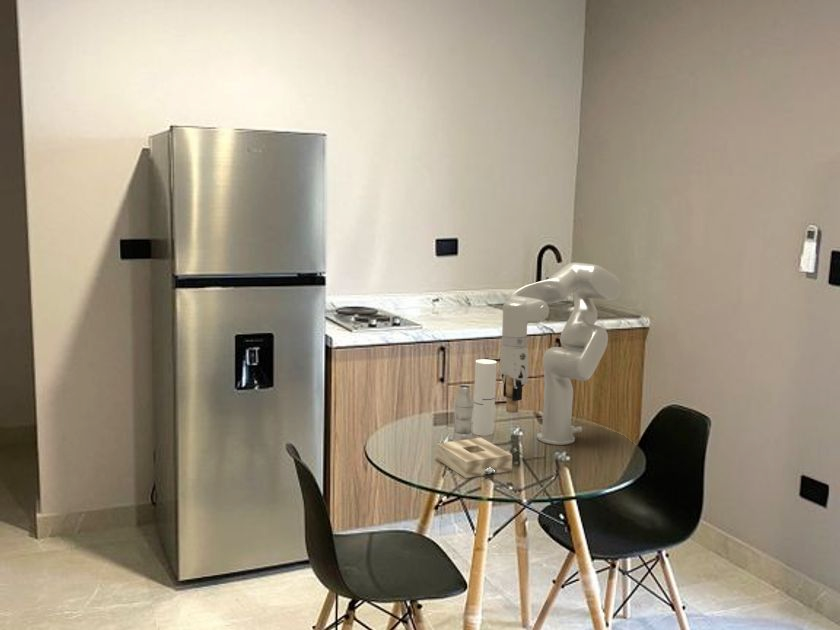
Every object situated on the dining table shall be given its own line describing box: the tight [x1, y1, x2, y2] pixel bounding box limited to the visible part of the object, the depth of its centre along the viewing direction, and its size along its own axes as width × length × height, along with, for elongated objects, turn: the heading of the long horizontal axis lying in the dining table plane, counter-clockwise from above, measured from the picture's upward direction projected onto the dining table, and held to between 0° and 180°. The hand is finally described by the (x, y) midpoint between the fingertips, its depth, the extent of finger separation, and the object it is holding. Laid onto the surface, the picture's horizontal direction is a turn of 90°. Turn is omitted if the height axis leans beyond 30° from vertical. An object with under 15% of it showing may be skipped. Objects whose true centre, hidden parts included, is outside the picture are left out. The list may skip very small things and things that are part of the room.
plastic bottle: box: [452, 384, 474, 441], centre depth 277 cm, size 6×7×20 cm
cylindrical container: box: [472, 358, 498, 437], centre depth 292 cm, size 7×7×25 cm
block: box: [435, 437, 513, 479], centre depth 261 cm, size 16×18×5 cm
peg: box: [505, 375, 520, 414], centre depth 266 cm, size 4×4×12 cm
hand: (512, 397), depth 267 cm, fingers closed on peg, 4 cm apart
